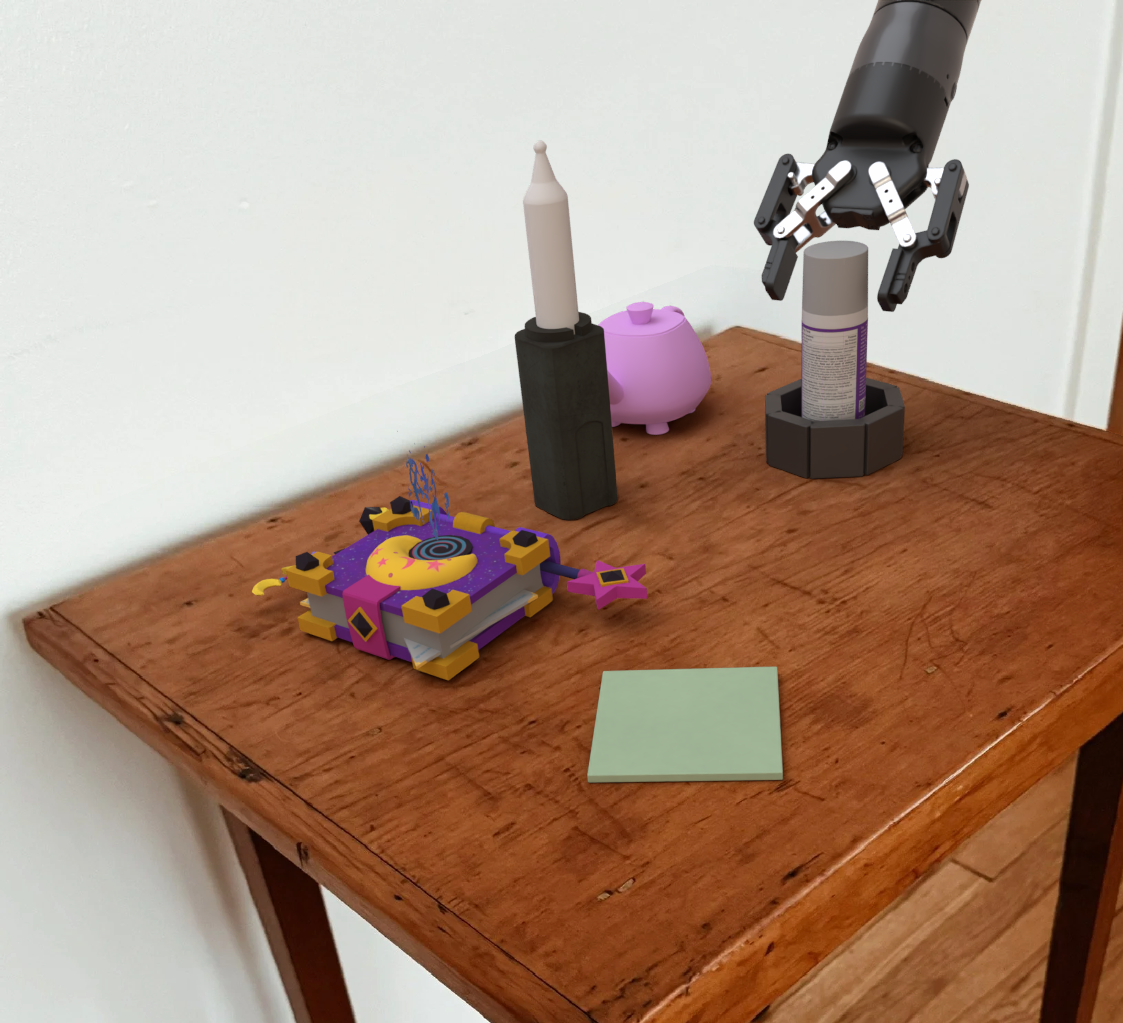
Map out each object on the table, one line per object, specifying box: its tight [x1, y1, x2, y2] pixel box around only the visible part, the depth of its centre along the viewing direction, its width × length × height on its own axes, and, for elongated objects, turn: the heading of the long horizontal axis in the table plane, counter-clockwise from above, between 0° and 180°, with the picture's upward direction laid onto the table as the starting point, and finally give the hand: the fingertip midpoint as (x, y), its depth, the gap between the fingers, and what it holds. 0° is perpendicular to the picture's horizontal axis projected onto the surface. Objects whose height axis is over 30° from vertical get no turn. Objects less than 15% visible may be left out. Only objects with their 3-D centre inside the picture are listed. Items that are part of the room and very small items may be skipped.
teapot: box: [597, 301, 712, 436], centre depth 105 cm, size 10×15×9 cm
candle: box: [514, 139, 619, 521], centre depth 89 cm, size 5×5×25 cm
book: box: [251, 430, 648, 681], centre depth 80 cm, size 14×25×12 cm, turn 54°
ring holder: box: [764, 377, 906, 480], centre depth 98 cm, size 10×10×4 cm
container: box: [800, 240, 869, 421], centre depth 95 cm, size 5×5×15 cm
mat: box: [586, 666, 784, 783], centre depth 71 cm, size 10×10×1 cm
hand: (827, 300), depth 92 cm, fingers open, 8 cm apart
